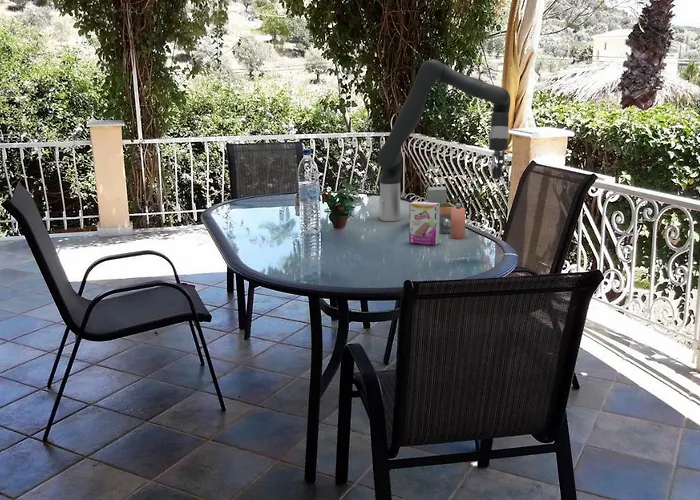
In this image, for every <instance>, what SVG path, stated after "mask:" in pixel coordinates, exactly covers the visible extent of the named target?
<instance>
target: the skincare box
mask: <svg viewBox="0 0 700 500" xmlns="http://www.w3.org/2000/svg"><path fill="white" fill-rule="evenodd" d="M447 198H448V197H447V187H446V185H445V186H428V187H427V202H429V203H448V202H447Z"/></svg>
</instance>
